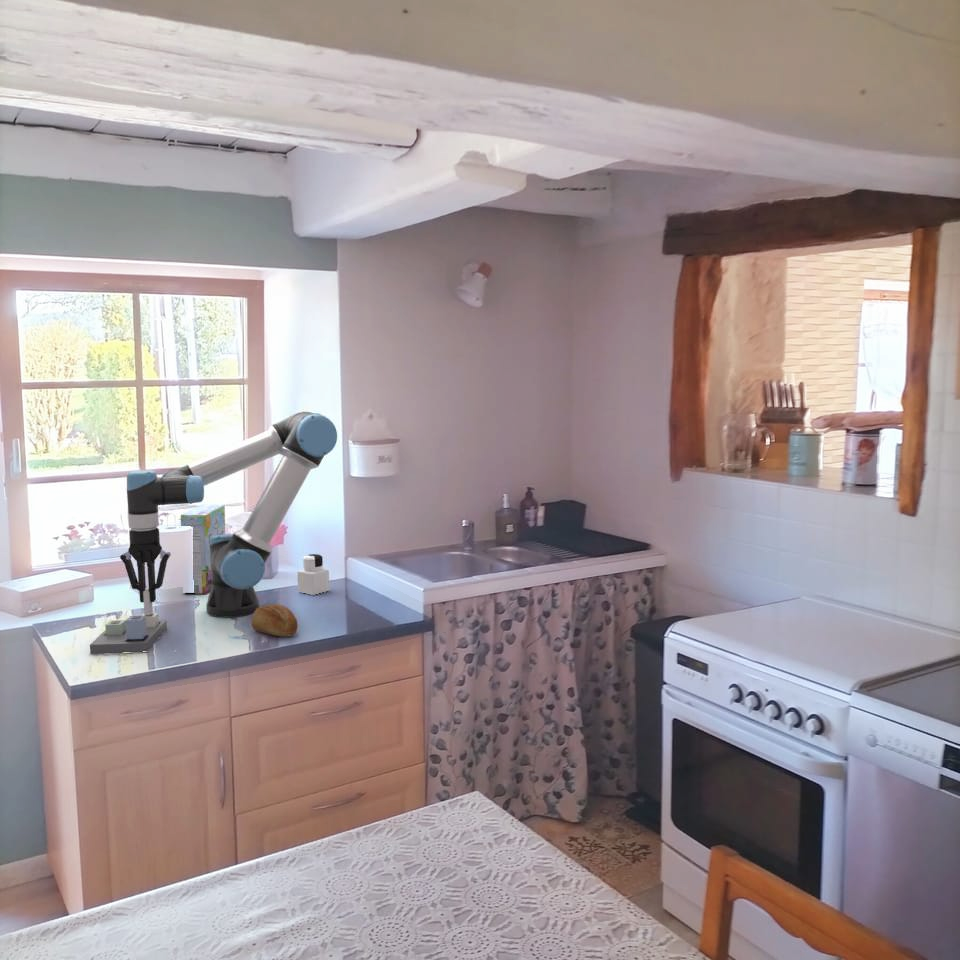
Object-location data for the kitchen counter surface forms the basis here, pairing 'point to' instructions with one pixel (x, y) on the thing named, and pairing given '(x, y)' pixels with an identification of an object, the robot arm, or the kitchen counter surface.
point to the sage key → (115, 627)
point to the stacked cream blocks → (313, 575)
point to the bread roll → (274, 620)
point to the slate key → (136, 627)
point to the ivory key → (152, 620)
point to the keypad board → (127, 641)
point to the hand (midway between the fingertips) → (148, 613)
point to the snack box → (203, 541)
